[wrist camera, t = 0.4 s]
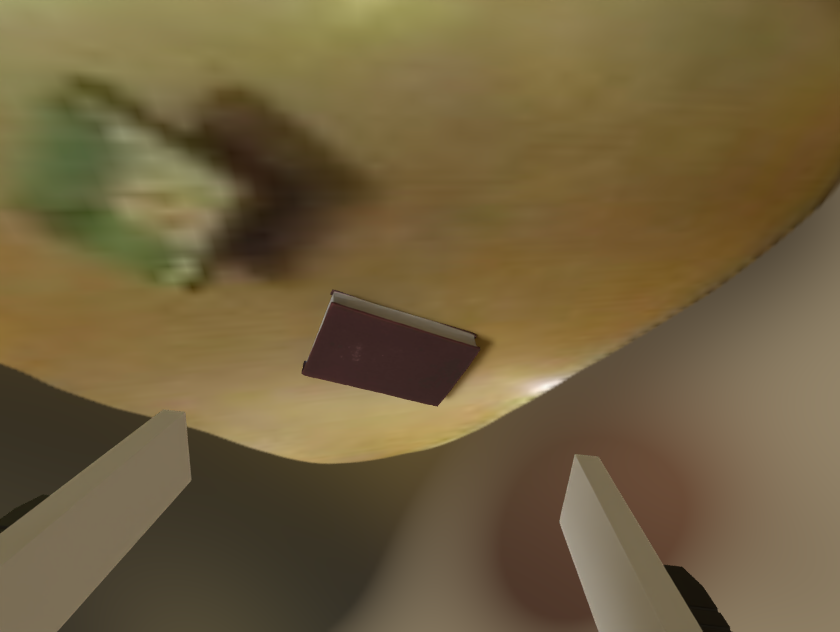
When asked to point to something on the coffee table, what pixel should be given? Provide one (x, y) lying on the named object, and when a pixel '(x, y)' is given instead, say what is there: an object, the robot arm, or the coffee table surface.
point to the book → (388, 351)
